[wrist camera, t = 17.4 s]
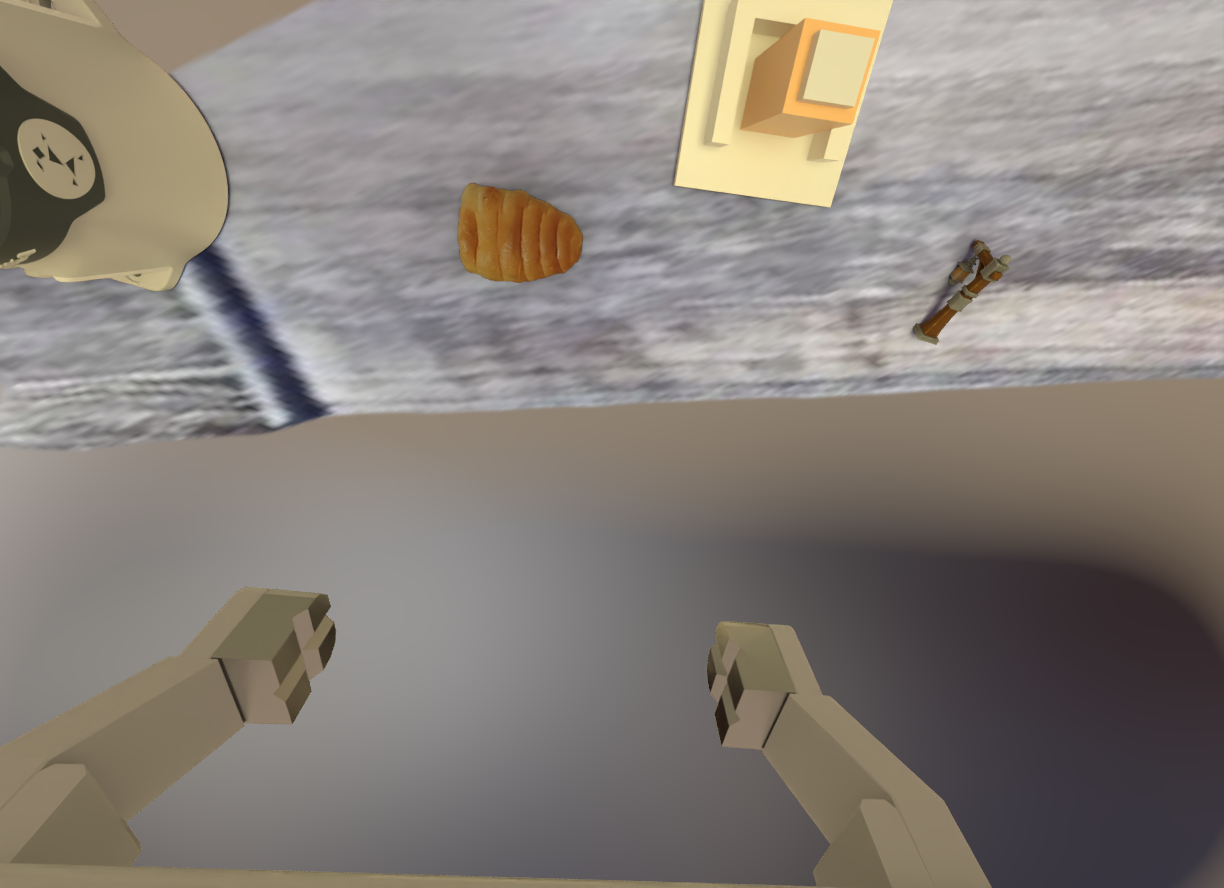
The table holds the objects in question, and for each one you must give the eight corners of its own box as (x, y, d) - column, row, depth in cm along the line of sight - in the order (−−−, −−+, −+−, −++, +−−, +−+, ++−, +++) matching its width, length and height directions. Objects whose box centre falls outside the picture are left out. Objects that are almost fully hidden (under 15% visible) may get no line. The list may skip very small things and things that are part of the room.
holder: (673, 185, 36) (680, 185, 33) (707, -26, 31) (720, -53, 27) (824, 206, 37) (848, 209, 34) (885, 5, 32) (920, -17, 28)
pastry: (586, 198, 37) (585, 200, 34) (579, 287, 40) (576, 297, 37) (463, 181, 36) (449, 181, 33) (465, 274, 39) (452, 282, 36)
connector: (740, 129, 34) (788, 110, 25) (755, 58, 32) (813, 11, 23) (794, 138, 34) (861, 122, 25) (812, 68, 32) (891, 24, 24)
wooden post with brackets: (999, 234, 38) (1024, 265, 35) (921, 314, 44) (937, 346, 41) (980, 227, 37) (1003, 258, 35) (904, 308, 44) (919, 340, 41)
